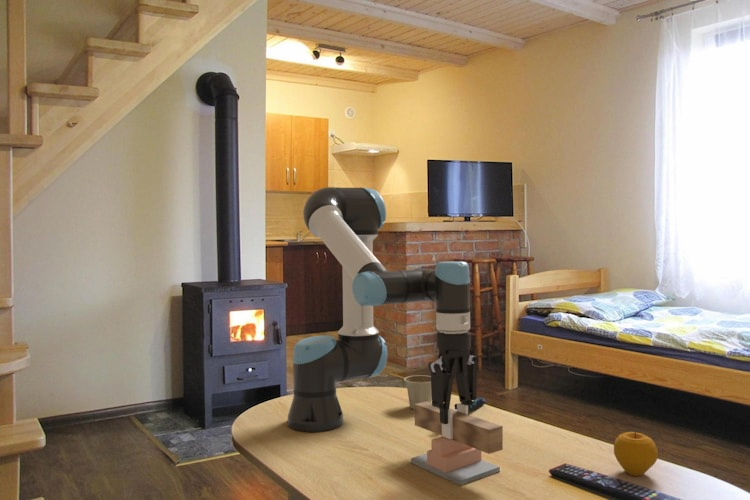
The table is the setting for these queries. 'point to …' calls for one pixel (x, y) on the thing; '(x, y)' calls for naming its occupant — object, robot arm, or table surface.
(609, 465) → the table surface
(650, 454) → the apple
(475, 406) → the knife
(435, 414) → the batten
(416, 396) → the flower pot
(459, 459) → the pink stepped block
